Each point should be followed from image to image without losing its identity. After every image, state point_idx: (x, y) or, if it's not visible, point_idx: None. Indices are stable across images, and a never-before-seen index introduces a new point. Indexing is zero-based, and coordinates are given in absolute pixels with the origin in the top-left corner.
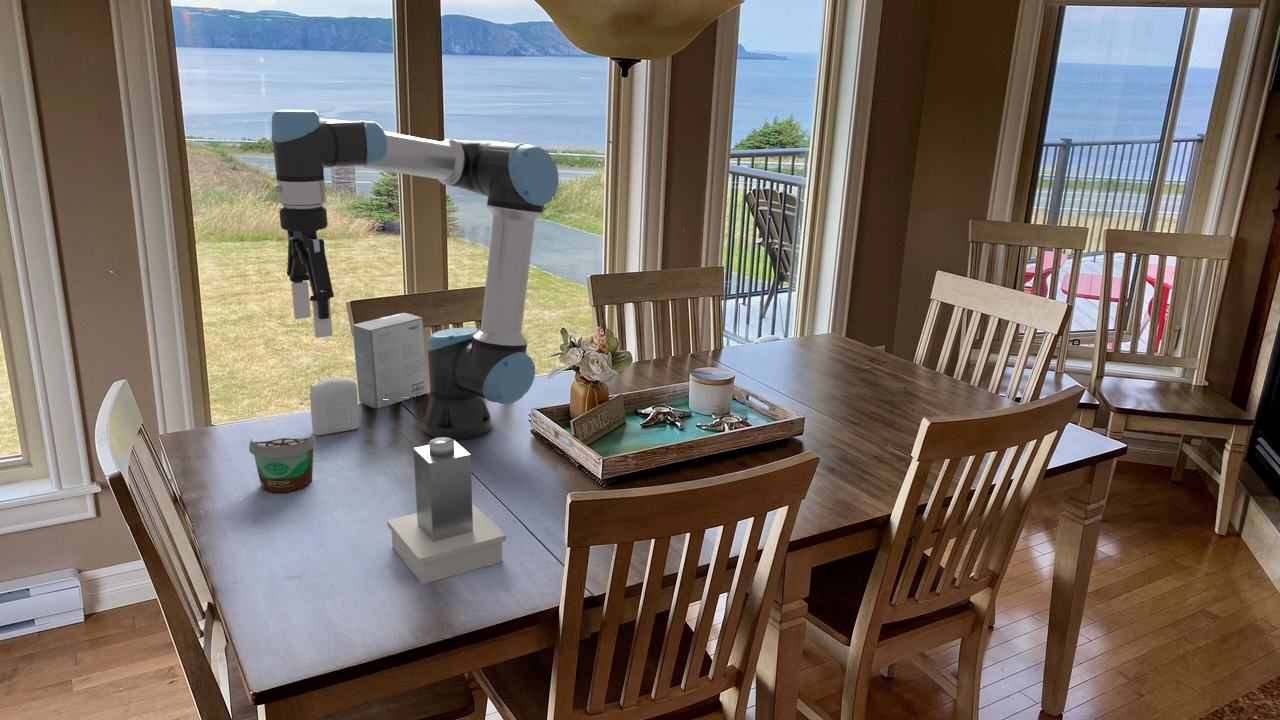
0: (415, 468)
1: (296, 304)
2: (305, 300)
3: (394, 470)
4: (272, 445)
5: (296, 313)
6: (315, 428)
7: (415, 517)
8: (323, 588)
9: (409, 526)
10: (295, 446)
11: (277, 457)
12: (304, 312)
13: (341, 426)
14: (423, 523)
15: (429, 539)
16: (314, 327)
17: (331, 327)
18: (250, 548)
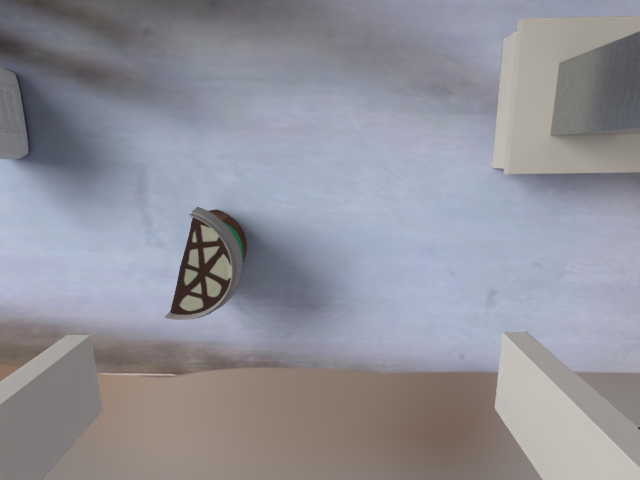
0: (636, 128)
1: (39, 466)
2: (9, 427)
3: (236, 74)
4: (201, 287)
5: (82, 425)
6: (14, 155)
7: (526, 130)
8: (538, 275)
9: (548, 149)
10: (232, 256)
11: (238, 283)
12: (75, 385)
13: (15, 106)
14: (588, 134)
15: (607, 136)
16: (523, 447)
17: (556, 359)
18: (388, 327)
